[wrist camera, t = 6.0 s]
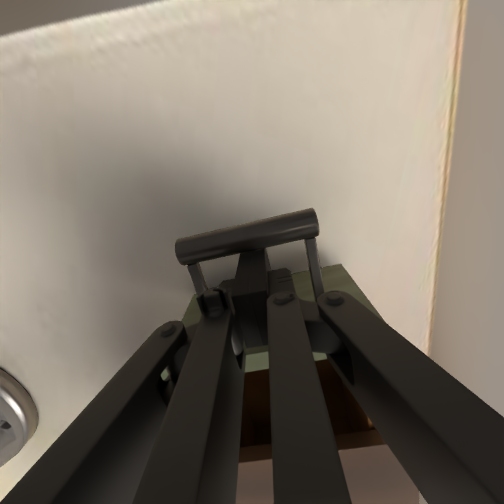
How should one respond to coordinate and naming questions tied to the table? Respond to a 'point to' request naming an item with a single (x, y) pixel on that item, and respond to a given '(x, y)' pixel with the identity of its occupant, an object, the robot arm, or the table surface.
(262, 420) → the drawer
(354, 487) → the cabinet
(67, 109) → the table surface
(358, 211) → the table surface
